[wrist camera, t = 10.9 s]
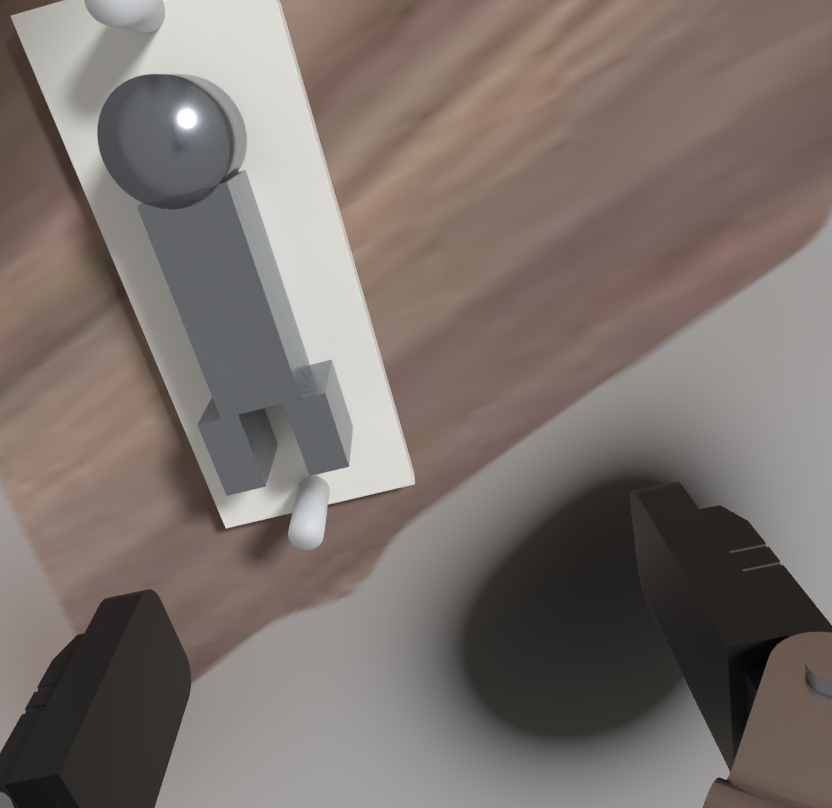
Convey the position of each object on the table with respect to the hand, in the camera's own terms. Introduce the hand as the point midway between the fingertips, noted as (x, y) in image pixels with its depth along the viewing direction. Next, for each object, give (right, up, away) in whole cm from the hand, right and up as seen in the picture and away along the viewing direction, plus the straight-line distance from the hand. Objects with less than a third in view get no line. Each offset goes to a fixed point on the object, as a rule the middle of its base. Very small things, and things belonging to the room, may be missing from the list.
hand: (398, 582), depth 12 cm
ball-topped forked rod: (-7, +8, +20) cm, 23 cm away
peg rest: (-8, +9, +22) cm, 24 cm away
